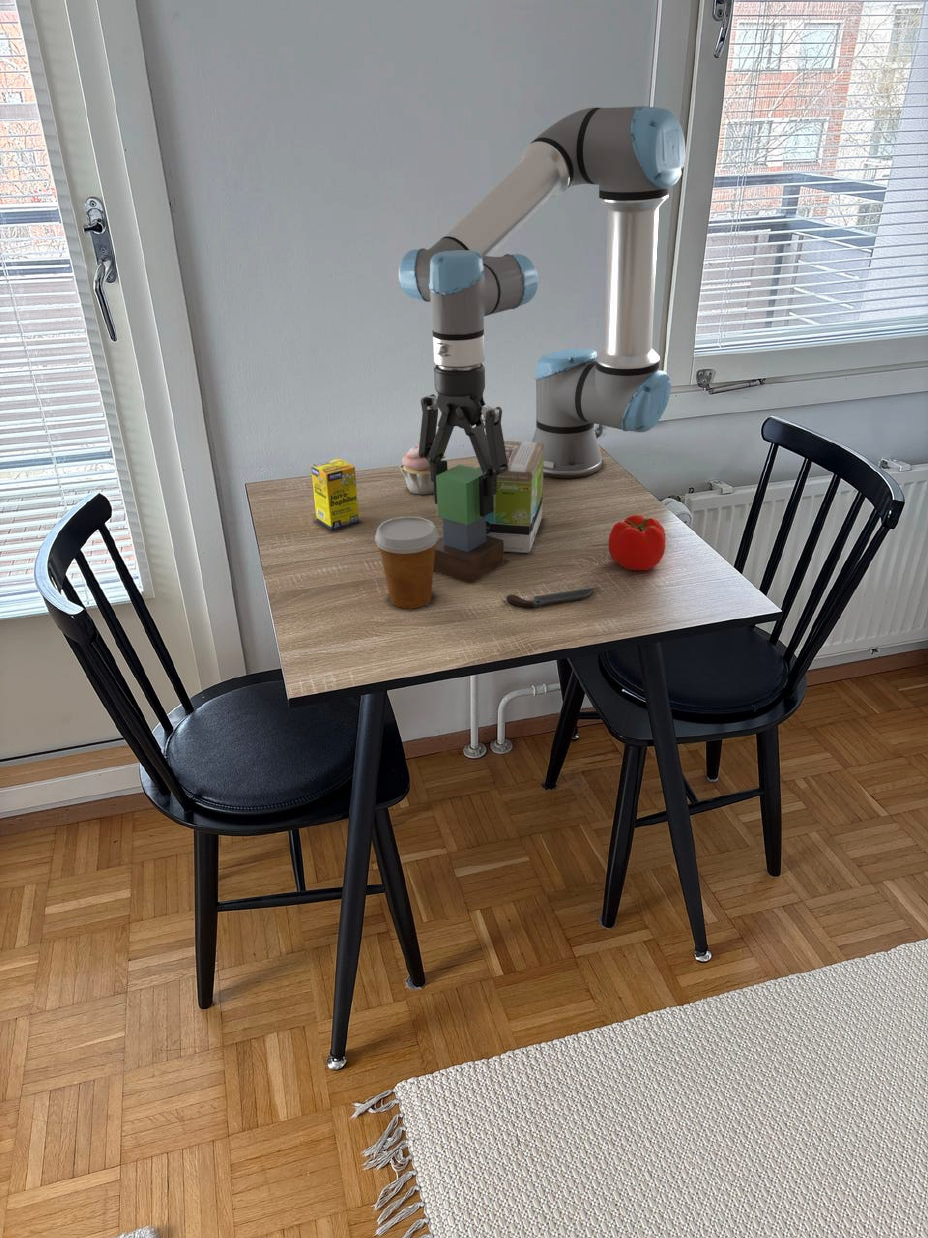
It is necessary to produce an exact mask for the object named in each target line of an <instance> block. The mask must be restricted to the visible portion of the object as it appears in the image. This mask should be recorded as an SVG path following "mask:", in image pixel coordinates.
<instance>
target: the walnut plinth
mask: <svg viewBox="0 0 928 1238" xmlns="http://www.w3.org/2000/svg"><path fill="white" fill-rule="evenodd" d="M504 553H505V551H504V544H503V540H501V539H497V538H494V537H490V536H487V535H486V542H485V543H483V544H481V545H480V546H478V547H476V548H475V549H473V550H471V551H470V552H465V551H462V550H458V549H455V548H452V547H448V546H445V545H444V541H443V537H441V538H438V539H437V542H436V545H435V557H434V570H433V572H437V573H439V574H442V575H446V576H449V577H453V578H455V579H458V580H462V581H464V582H468V583H471V584H472V583H474V582H475V581H476V580H478V579H479V578H481V577H482V576H484V575H486V574H488V573H489V572H490V571H492V570H494V569H495V568H497V567H499V566H500V565H501V564H503V563H505V562H504V561H505V559H504V558H505V557H504V556H505V555H504Z"/></svg>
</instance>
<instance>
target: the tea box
mask: <svg viewBox="0 0 928 1238" xmlns="http://www.w3.org/2000/svg"><path fill="white" fill-rule="evenodd" d="M504 445H505V451H506V457H507V463H508V470H507V471H505V472H504V473H502V474H500V475H498V476H497V493H496V494H495V495H493V497H494V511H493V512H492V513H490V514H488V515H486V535H487V536H490V537H494V538H497V539H501V540H503V544H504V553H505V552H507V553H522V554H523V553H524V554H529V553H530V551H531V549H532V547H533V544H534V541H535V538H536V536H537V533H538V530H539V528H540V524H541V521H542V519H543V499H544V497H543V496H544V495H543V494H544V493H543V492H544V476H543V464H544V443H536V442H532V441H515V440H513V441H512V440H504ZM474 468H476V469H480V470H481V467H480V464H479V462H478V461H477V463H476V465H475V467H474ZM489 468H490V467H489Z"/></svg>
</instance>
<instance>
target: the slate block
mask: <svg viewBox="0 0 928 1238" xmlns="http://www.w3.org/2000/svg"><path fill="white" fill-rule="evenodd" d="M441 520H442V538H443V541H444V545H445V546H448V547H452V548H455V549H458V550H462V551H465V552H470V551H471V550H473V549H475V548H476V547H478V546H480V545H481V544H483V543H485V542H486V516H485V517H482V518H480V519H478V520H476V521H475V522H473V523H471V524H469V525H465V524H461V523H458V522H454V521H450V520H447V519H443V518H441Z"/></svg>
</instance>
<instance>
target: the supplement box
mask: <svg viewBox="0 0 928 1238" xmlns="http://www.w3.org/2000/svg"><path fill="white" fill-rule="evenodd" d="M310 471H311V472H310V473H311V482H312V489H313V498H314V499H313V500H314V507H315V509H314V510H315V519H316V522H318V523H319V524H321V525H322V526H323V527H325V528H327V529H329V530H330V531H331V532H333V531H336V530H339V529H342V528H345V527H346V528H347V527H350V526H352V525H357V524H360V513H359V501H358V492H357V491H358V489H357V478H356V467H355V466H354V465H352V464H350V463H349V462H347V461H345V460H343V459H341V458H335V459H333V460H329V461H325V462H321V463H317V464H311V465H310Z"/></svg>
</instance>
